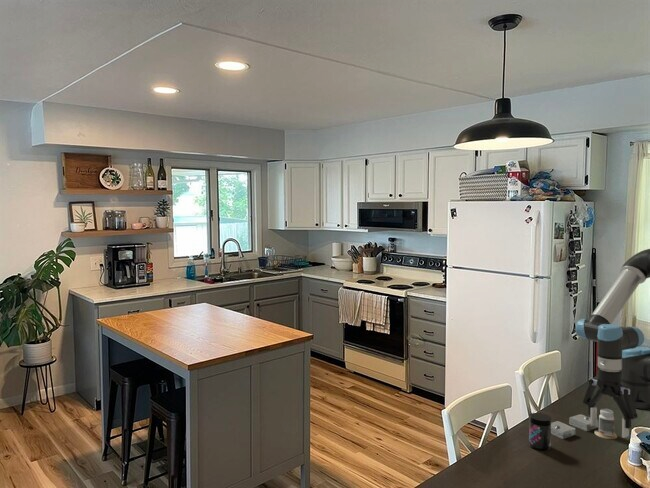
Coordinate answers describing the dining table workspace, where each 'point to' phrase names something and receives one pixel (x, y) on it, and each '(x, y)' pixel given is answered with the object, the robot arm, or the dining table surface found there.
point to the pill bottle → (606, 422)
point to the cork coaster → (604, 435)
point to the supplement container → (540, 431)
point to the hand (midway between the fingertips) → (609, 430)
